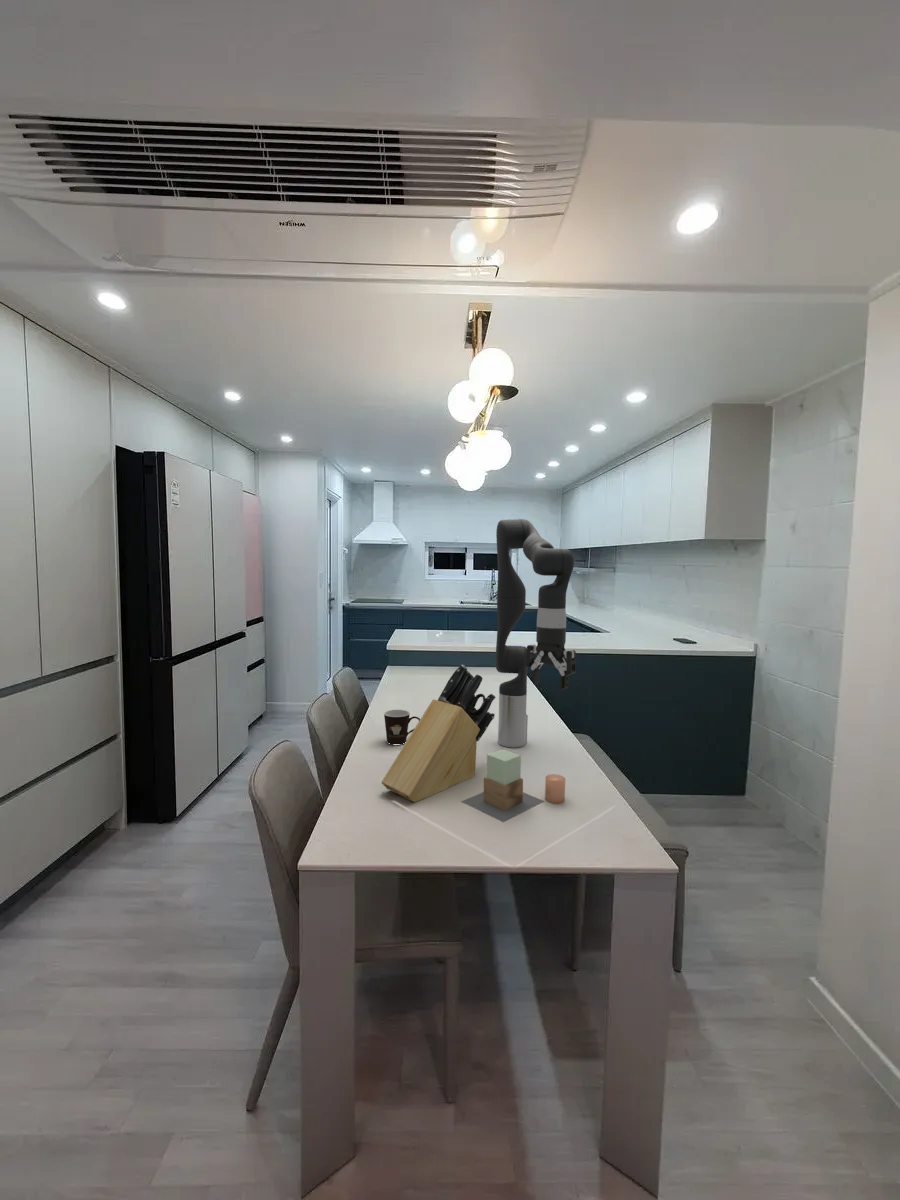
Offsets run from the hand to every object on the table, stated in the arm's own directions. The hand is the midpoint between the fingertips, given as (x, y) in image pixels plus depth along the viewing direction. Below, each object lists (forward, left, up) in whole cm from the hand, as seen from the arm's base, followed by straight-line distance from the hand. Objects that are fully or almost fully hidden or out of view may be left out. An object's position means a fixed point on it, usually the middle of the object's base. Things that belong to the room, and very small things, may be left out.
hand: (549, 686), depth 136 cm
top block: (+13, -4, -22) cm, 26 cm away
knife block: (+15, -24, -29) cm, 41 cm away
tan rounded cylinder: (+2, +4, -29) cm, 29 cm away
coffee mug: (+5, -56, -29) cm, 63 cm away
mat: (+13, -4, -29) cm, 32 cm away
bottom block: (+13, -4, -28) cm, 31 cm away
